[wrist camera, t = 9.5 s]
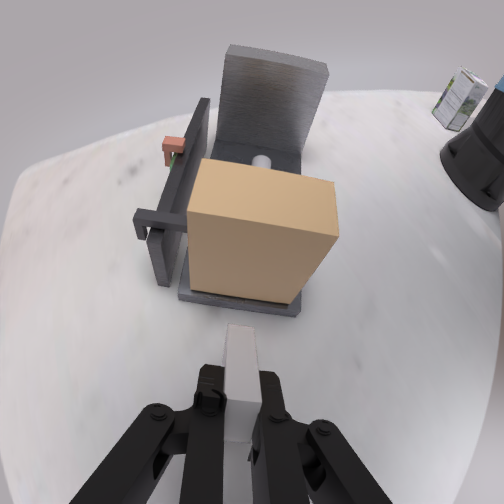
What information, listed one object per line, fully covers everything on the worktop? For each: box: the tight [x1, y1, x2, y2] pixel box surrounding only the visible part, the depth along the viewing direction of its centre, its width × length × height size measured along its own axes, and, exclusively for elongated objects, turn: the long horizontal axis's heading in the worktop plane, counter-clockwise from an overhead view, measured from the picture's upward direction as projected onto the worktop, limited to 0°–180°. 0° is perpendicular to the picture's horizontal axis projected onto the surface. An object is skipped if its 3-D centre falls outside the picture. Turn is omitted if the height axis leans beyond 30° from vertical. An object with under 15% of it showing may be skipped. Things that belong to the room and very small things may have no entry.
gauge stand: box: [146, 45, 329, 317], centre depth 26 cm, size 22×12×12 cm, turn 175°
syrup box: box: [432, 66, 488, 132], centre depth 47 cm, size 6×6×14 cm
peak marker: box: [162, 136, 185, 167], centre depth 24 cm, size 1×2×3 cm, turn 85°
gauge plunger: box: [133, 155, 339, 304], centre depth 22 cm, size 10×12×10 cm
